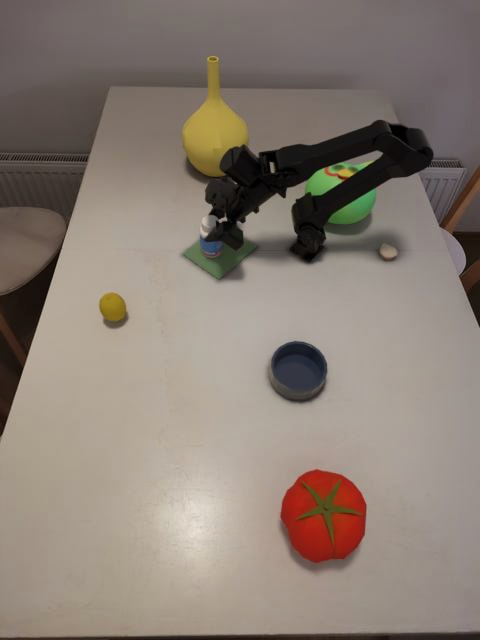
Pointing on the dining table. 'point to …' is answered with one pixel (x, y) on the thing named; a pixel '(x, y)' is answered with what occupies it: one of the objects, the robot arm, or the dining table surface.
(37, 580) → the dining table surface
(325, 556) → the tomato
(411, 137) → the robot arm
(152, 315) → the dining table surface
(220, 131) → the vase
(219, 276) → the towel
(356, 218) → the toy bird
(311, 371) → the shallow round bowl
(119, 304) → the lemon
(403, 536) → the dining table surface
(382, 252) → the macaroon
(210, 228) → the pill bottle
